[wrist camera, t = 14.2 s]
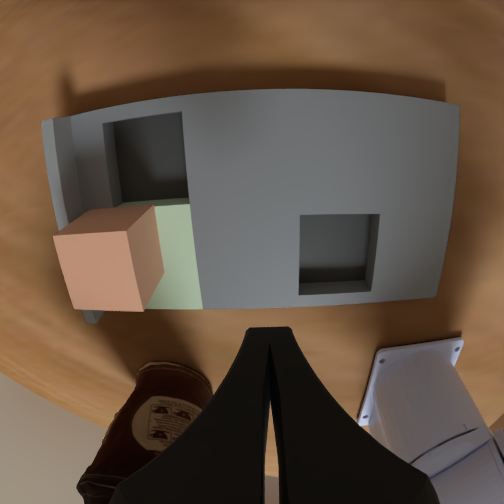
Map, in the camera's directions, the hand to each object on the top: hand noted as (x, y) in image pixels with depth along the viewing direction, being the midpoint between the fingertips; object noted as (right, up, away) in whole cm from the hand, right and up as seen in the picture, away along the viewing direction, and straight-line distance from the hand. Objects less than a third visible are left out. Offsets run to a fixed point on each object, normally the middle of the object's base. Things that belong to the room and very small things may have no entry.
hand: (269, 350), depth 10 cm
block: (-8, +4, +7) cm, 11 cm away
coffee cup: (-7, -7, +14) cm, 17 cm away
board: (0, +6, +8) cm, 10 cm away
